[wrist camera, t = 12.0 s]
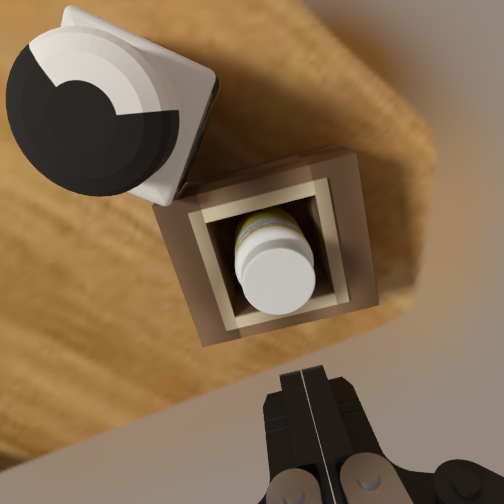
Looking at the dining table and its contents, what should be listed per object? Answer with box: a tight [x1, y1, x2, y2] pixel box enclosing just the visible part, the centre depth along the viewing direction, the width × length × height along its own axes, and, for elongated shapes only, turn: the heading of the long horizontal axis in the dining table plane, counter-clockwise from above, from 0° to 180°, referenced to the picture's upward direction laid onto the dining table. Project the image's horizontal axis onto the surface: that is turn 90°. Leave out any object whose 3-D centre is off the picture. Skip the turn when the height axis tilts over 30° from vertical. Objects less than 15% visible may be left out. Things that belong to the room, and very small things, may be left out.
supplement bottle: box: [235, 205, 315, 315], centre depth 24 cm, size 5×5×8 cm
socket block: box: [152, 145, 379, 347], centre depth 26 cm, size 12×10×5 cm
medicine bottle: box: [6, 6, 221, 206], centre depth 19 cm, size 7×7×12 cm
